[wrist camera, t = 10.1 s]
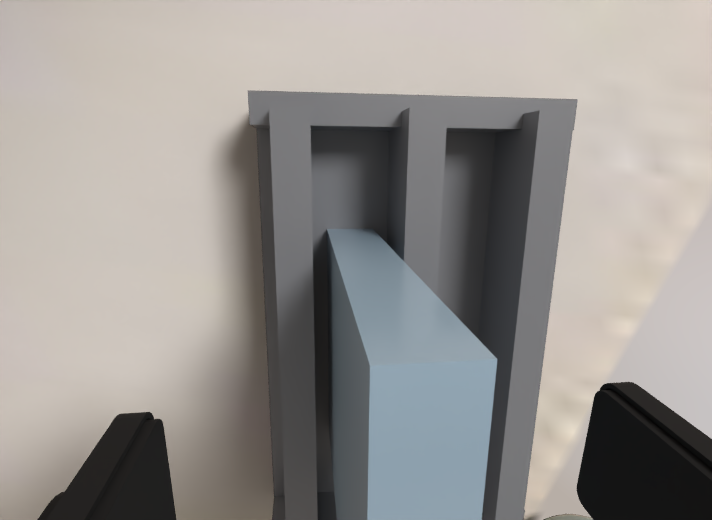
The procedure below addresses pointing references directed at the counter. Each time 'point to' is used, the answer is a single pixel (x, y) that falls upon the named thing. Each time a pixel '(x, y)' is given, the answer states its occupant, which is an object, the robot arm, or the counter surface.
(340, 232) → the light blue upright panel
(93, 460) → the robot arm
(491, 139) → the rack
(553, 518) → the cup
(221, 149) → the counter surface
